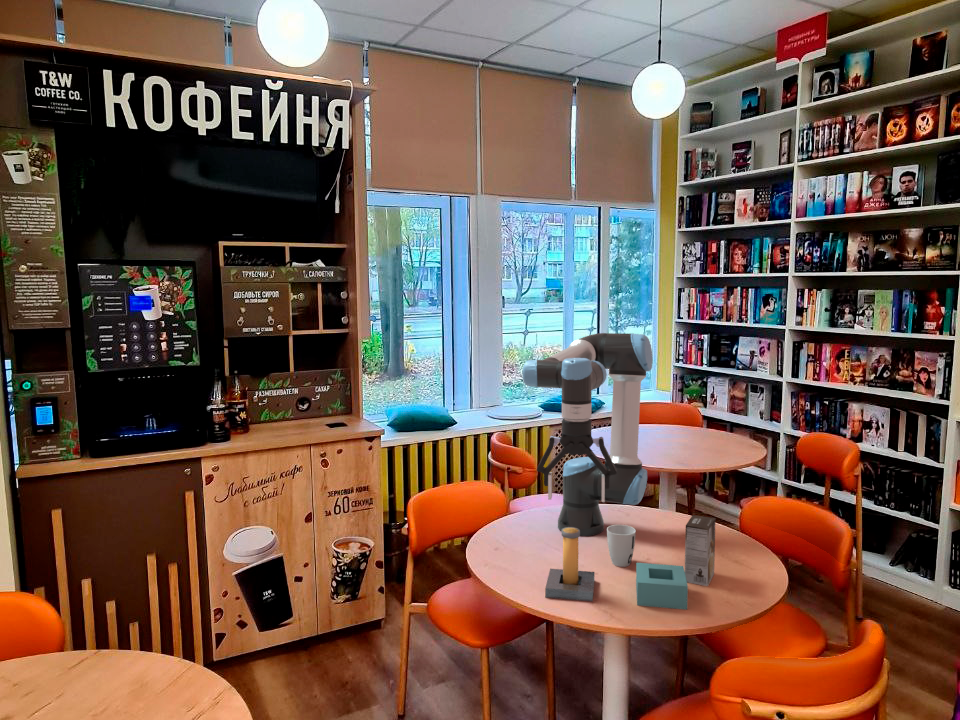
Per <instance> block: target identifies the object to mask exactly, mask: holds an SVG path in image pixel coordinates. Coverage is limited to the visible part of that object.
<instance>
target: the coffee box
mask: <svg viewBox="0 0 960 720" xmlns="http://www.w3.org/2000/svg"><path fill="white" fill-rule="evenodd" d="M684 537H685V538H684V539H685V541H684V542H685V544H684V545H685V546H684V547H685V548H684V552H685V553H684V554H685V555H684V572H685V576H686V581H687V584H688V583H689V584H693V585H694V584H695V585H698V586H705V587H709V585H710V583H711V581H712V579H713V577H714V575H715V555H716V554H715V551H716V549H715V548H716V517H709V516H702V515H694V514H693V515H691V517H690V518H689V519H688V521H687V523H686V524H685V535H684Z"/></svg>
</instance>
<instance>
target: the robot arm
mask: <svg viewBox="0 0 960 720" xmlns="http://www.w3.org/2000/svg"><path fill="white" fill-rule="evenodd" d="M653 362H654V361H653V350H652V345H651V342H650V339H649V337H648V336H647V335H645V334H639V333H633V332H632V333H622V332H621V333H617V332H616V333H614V332H612V333H611V332H610V333H609V332H608V333H606V332H599V333H594V334H589V335H586V336H583V337H580V338H578V339H576V340H574V341H572V342H571V343H570V344H569V345H568V347H567V348H566V347H565V348H564V349H562V350H560V351H558V352H556V353H555V354H551V355H550V356H548V357H546V358H544V359H537V358H536V359H528V360H526V361H525V362H524V364H523V367H522V382H523V383H524V385H526V386H528V387H534V388H536V389H537V388H546V389H547V388H548V389H561V417H562V419H561V437H558V436H554V435H550V437H549V441H548V446H547V448H546V450H545V452H544V453H543V456H542V457H541V459H540V461H539V464H538V465H537V467H536V471H537V472H538V473H541V474H543V485H544V487H547V491H548V492H547V497H548V500H550V501H551V500H552V498H553V471H552V470H553V469H554V468H555V467H556V465H558V463H559V462H560V461H561V460H562V459H563V458H564V457H565V456H566V455H567V454H568V455H570V456H575V455H577V456H580V457H576V458H572V459H569V460H567V461H566V462H565V463H564V464H563V467H562V468H563V469H562V470H563V472H562V501H563V502H562V507H561V510H560V513H559V515H558V519H557V528H558V530H560V531H561V530H562V529H563V528H566V527H574V528H577V529H579V530H580V536H581V537H589V536H596V535H598V534H600V533H602V532H603V531H604V530H605V522H604V518H603V515H602V511H601V509H600V506H599V504H600V503H599V502H600V501H601V502H602V503H605V502H608V503H617V504H623V505H631V506H632V505H633V506H636V505H639V503H640V502H641V501H642V499H643V497H644V494H645V491H646V488H647V483H648V482H647V481H648V471H647V469H646V468H643V461H642V460H641V459H640V458H639V457H638V454H639V453H638V451H639V450H638V449H639V433H640V431H639V429H640V407H641V389H642V388H641V385H642V381H643V380H644V379H645V378H646V377H647V372H651V370H652V368H653ZM607 370H608V374H607ZM607 376H609V377H610V378H611V379H612V381H613V382H612V402H611V403H612V406H611V407H612V408H611V424H610V425H611V426H610V427H611V431H610V449H609V452H608V450H607V448H606V446H605V442H604V441H605V440H604V437H603V436H599V437H597V438H595V437H594V438H593V436H592V420H591V418H592V392H593V391H594V390H597V389H598V388H600V387H601V386H602V385H603V384H604V383H605V381H606V380H607ZM558 443H559V444H560V445H561V446H562V449H561V450H560V451H559V452H558V453H557V454H556V456H555V457H554V458H553V459H552V460H551V461H550V462H549V463H548V464H547V465H546V467H545V464H546V462H547V461H548V458H549V457H550V455H551V453H552V451H553V449H554V447H555V446H557V445H558ZM593 444H595V446H596V447H598V448H599V450H600V453H601V454H602V457H603V459H604V463H603V462H602V461H601V460H600V459H599V458H598V456H597V454H595V453H594V451H593V450H592V448H591V447H592V446H593ZM583 455H586V456H583ZM551 471H552V472H551ZM580 536H579V537H580Z"/></svg>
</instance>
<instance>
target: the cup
mask: <svg viewBox="0 0 960 720" xmlns="http://www.w3.org/2000/svg"><path fill="white" fill-rule="evenodd" d="M636 532H637V531H636V528H634V527H633V526H631V525H627V524H613V525H609V526H608V527H606V541H607V546H608V547H607V548H608V553H609V557H610V560H611V561H610V562H612V565H614V566H616V567H621V568H624V567H629V566H630V565H631V562H632V559H633V555H634V550H635V545H636V535H637V534H636Z"/></svg>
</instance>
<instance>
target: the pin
mask: <svg viewBox="0 0 960 720" xmlns="http://www.w3.org/2000/svg"><path fill="white" fill-rule="evenodd" d="M560 531H561V532H560V533H561V537H562V569H563V583H562V584H569V585H578V571H579V538H580V530H579V529H577V528H574V527H566V528H563V529H562V530H560Z"/></svg>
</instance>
